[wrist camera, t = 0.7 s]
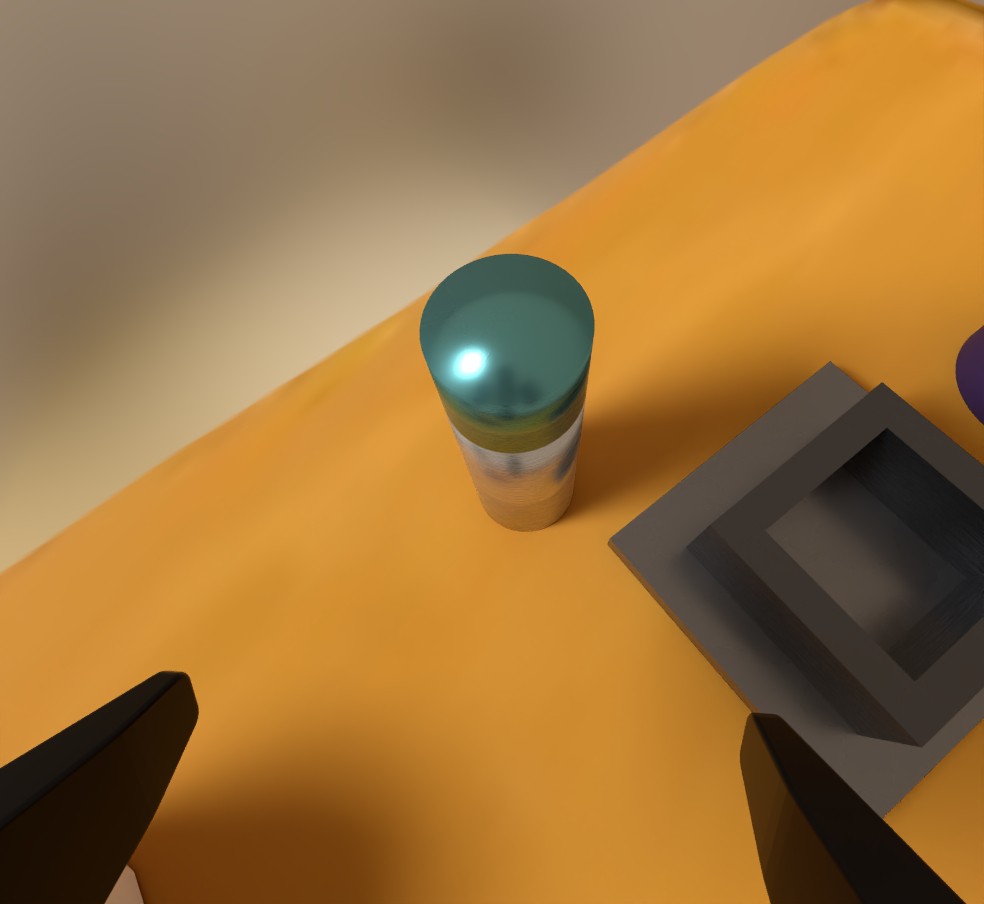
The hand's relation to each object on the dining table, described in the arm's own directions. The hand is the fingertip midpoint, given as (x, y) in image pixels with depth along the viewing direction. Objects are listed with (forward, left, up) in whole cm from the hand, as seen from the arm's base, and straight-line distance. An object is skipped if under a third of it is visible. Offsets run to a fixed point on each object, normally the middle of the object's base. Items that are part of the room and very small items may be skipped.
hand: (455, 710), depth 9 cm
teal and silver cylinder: (+6, -5, -13) cm, 16 cm away
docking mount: (-4, -12, -13) cm, 19 cm away
